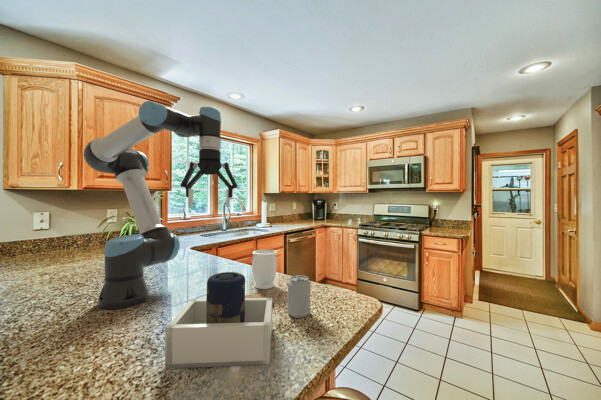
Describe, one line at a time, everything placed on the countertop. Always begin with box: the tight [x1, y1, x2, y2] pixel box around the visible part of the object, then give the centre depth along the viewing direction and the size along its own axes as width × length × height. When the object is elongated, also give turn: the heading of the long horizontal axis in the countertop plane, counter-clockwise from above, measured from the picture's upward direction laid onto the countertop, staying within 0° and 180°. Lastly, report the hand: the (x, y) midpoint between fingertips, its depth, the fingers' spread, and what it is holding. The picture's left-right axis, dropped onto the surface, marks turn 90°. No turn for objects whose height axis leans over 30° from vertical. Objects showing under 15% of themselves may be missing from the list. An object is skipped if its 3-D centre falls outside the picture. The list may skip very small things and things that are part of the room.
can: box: [287, 274, 311, 319], centre depth 83 cm, size 8×8×12 cm
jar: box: [251, 249, 278, 290], centre depth 109 cm, size 11×10×15 cm
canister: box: [205, 271, 246, 324], centre depth 64 cm, size 10×10×18 cm
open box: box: [164, 297, 273, 370], centre depth 64 cm, size 23×16×9 cm
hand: (209, 206), depth 94 cm, fingers open, 13 cm apart
